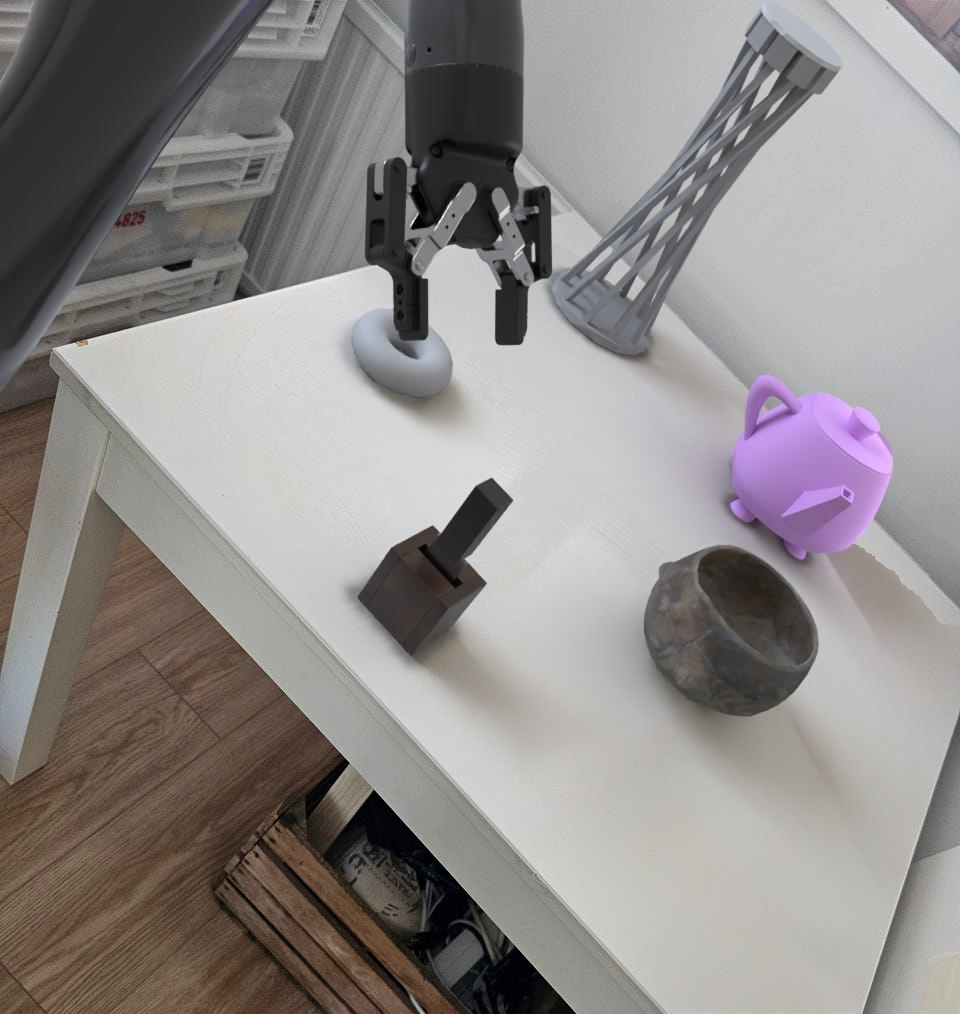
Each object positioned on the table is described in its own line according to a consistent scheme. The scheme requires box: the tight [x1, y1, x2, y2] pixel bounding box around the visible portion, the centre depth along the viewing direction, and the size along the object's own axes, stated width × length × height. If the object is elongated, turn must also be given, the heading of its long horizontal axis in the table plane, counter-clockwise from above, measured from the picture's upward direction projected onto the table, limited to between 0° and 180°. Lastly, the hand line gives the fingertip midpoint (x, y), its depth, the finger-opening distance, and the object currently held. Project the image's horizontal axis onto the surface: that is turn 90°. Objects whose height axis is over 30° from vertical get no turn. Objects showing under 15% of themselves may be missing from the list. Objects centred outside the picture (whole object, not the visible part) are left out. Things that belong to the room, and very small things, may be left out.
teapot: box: [730, 374, 894, 560], centre depth 109 cm, size 20×20×15 cm
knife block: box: [357, 524, 488, 656], centre depth 77 cm, size 6×5×6 cm
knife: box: [423, 477, 514, 585], centre depth 74 cm, size 3×2×14 cm, turn 51°
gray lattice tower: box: [551, 0, 844, 356], centre depth 112 cm, size 14×13×35 cm
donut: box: [350, 307, 454, 398], centre depth 95 cm, size 10×4×10 cm
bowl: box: [643, 544, 819, 718], centre depth 89 cm, size 14×15×10 cm
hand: (463, 342), depth 69 cm, fingers open, 8 cm apart
